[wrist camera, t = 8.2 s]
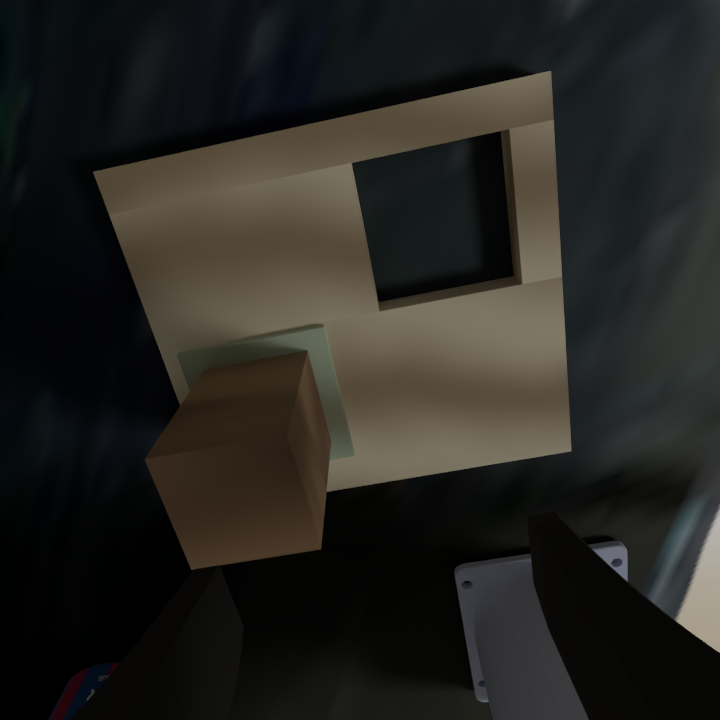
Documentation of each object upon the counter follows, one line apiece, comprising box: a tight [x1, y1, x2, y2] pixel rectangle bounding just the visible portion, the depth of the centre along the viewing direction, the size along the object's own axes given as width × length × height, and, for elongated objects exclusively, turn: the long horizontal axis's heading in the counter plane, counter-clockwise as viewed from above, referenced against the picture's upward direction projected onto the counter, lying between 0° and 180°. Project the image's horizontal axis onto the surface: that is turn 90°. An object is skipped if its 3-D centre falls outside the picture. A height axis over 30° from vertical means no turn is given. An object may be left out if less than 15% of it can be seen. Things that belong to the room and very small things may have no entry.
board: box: [93, 71, 571, 492], centre depth 20 cm, size 14×15×2 cm
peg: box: [145, 350, 331, 570], centre depth 18 cm, size 4×4×6 cm
